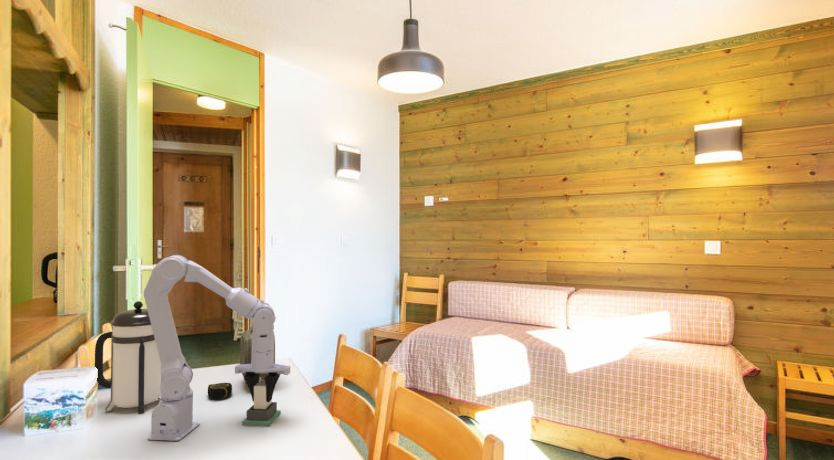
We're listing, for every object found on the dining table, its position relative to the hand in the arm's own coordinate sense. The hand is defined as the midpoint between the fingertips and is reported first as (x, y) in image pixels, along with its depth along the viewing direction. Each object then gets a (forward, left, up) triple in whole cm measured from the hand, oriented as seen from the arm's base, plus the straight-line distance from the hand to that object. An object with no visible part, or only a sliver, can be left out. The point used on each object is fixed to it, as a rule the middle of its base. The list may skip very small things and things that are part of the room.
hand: (262, 400), depth 120 cm
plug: (0, 0, -2) cm, 2 cm away
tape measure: (+15, +20, -6) cm, 26 cm away
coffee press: (+5, +41, -5) cm, 41 cm away
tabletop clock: (+25, +13, -5) cm, 29 cm away
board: (0, 0, -5) cm, 5 cm away
